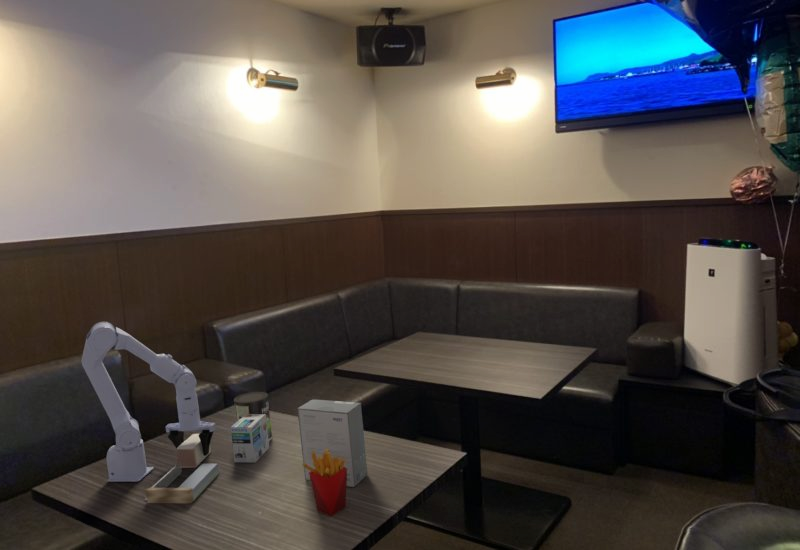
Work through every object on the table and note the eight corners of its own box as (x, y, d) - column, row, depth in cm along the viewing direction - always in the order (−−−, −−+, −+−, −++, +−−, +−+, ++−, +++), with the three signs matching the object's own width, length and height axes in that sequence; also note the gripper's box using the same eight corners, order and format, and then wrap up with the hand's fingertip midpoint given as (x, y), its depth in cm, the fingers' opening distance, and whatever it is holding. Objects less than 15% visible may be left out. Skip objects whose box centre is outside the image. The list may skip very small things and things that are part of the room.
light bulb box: (255, 463, 170) (251, 427, 169) (233, 463, 171) (229, 427, 170) (270, 447, 181) (266, 413, 179) (249, 447, 182) (245, 413, 180)
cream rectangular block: (179, 467, 171) (176, 448, 170) (195, 452, 181) (193, 433, 180) (195, 467, 170) (193, 447, 170) (211, 452, 180) (208, 433, 179)
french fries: (332, 498, 147) (326, 441, 145) (356, 508, 142) (350, 448, 140) (305, 515, 140) (298, 454, 138) (329, 525, 135) (323, 463, 133)
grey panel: (144, 500, 153) (142, 489, 153) (174, 472, 168) (173, 462, 167) (152, 500, 153) (150, 489, 152) (181, 472, 167) (180, 462, 167)
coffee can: (275, 432, 192) (271, 390, 190) (268, 445, 182) (263, 401, 180) (243, 434, 192) (238, 392, 190) (234, 448, 182) (229, 403, 180)
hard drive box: (368, 474, 158) (362, 402, 155) (354, 488, 151) (348, 413, 149) (319, 467, 165) (312, 398, 162) (303, 480, 158) (296, 408, 155)
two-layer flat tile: (176, 500, 152) (174, 489, 151) (203, 472, 166) (202, 462, 166) (193, 500, 151) (192, 489, 151) (219, 472, 166) (218, 462, 165)
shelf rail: (147, 503, 152) (145, 490, 151) (149, 500, 153) (148, 487, 152) (191, 503, 150) (189, 490, 149) (193, 500, 151) (192, 487, 150)
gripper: (217, 404, 176) (223, 448, 178) (172, 405, 178) (178, 448, 180) (206, 413, 169) (212, 458, 171) (159, 414, 171) (165, 459, 173)
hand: (194, 454), depth 175 cm, fingers open, 7 cm apart
